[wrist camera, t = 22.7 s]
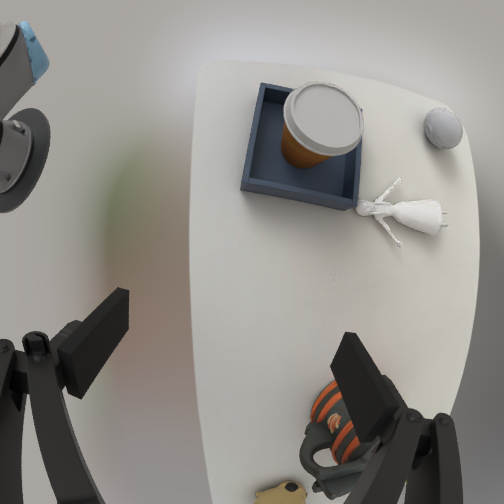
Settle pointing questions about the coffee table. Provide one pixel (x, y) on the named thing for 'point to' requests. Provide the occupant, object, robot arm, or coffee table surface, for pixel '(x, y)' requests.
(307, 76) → the coffee table surface
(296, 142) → the disposable coffee cup
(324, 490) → the lidded tankard
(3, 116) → the robot arm
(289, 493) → the toy pig
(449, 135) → the bath bomb
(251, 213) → the coffee table surface
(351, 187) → the bin
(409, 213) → the woman figurine
